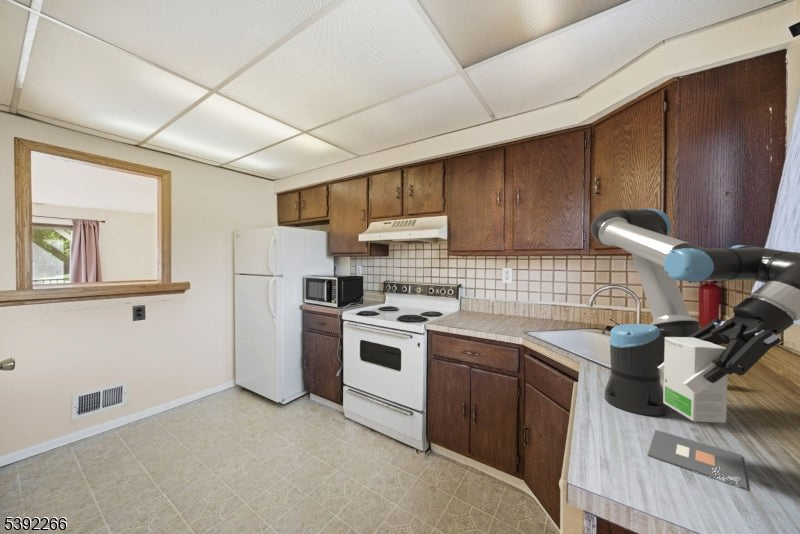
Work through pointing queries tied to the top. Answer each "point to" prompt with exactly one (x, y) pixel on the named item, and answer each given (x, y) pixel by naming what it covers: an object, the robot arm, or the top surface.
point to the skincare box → (681, 365)
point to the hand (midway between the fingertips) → (675, 379)
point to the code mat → (697, 457)
